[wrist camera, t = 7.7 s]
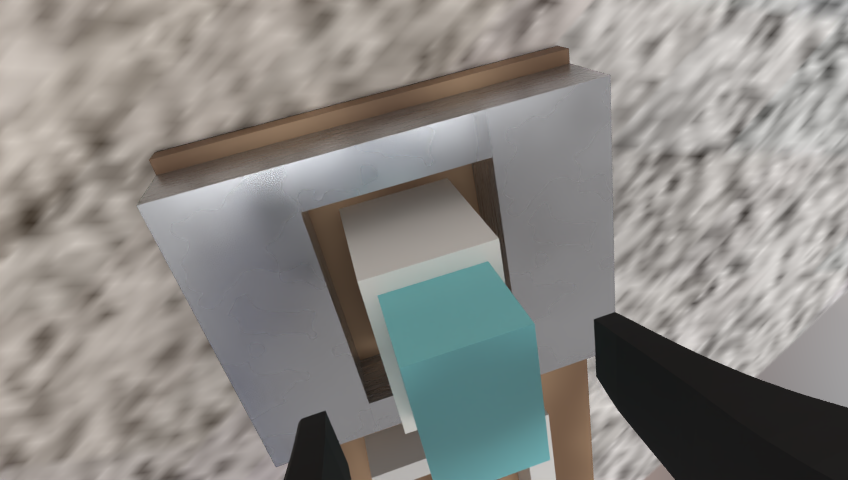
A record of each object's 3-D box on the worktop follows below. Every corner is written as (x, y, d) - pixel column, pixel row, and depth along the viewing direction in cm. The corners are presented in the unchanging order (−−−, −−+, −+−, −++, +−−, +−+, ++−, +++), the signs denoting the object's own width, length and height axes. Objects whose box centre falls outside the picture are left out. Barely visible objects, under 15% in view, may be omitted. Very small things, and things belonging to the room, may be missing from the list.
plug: (379, 339, 21) (428, 519, 14) (338, 209, 18) (375, 353, 11) (471, 309, 21) (565, 469, 14) (447, 178, 18) (548, 297, 11)
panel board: (353, 562, 28) (355, 577, 27) (154, 152, 16) (149, 160, 16) (586, 474, 30) (593, 486, 29) (557, 46, 18) (568, 48, 17)
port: (276, 417, 21) (276, 466, 19) (156, 175, 16) (136, 205, 14) (583, 314, 23) (615, 348, 21) (569, 63, 17) (610, 75, 15)
